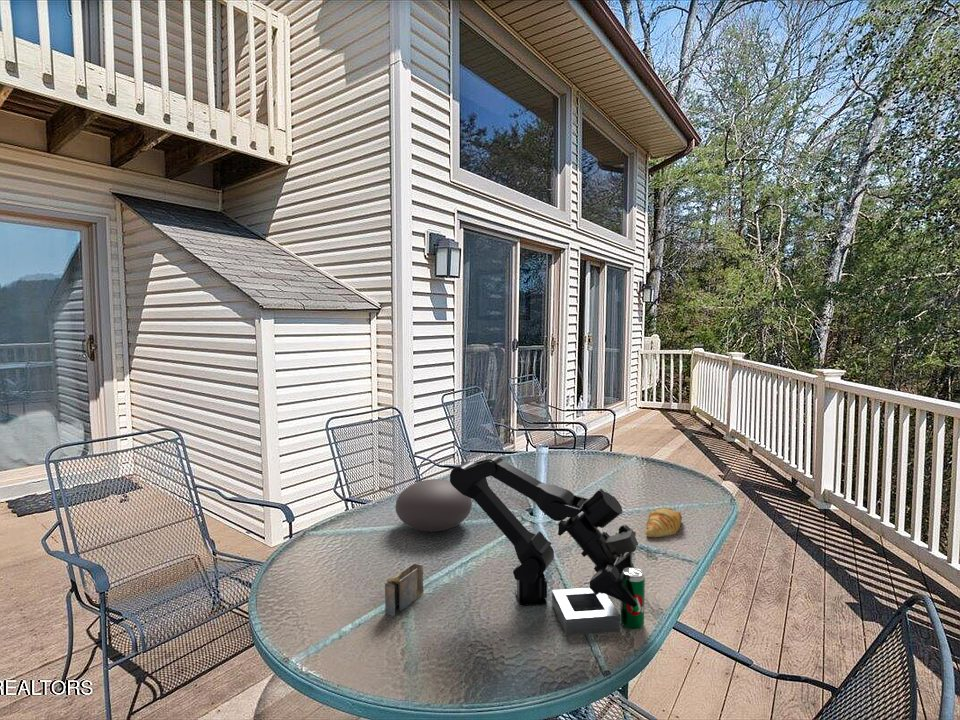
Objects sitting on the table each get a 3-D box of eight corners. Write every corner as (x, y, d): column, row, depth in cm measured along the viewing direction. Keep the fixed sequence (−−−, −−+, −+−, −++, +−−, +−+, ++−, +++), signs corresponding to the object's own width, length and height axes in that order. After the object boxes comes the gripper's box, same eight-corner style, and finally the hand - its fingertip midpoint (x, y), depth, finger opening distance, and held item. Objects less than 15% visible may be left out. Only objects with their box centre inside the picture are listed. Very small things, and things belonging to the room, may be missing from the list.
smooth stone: (487, 525, 170) (487, 480, 169) (430, 550, 152) (429, 500, 151) (437, 507, 187) (436, 466, 186) (380, 527, 169) (379, 483, 167)
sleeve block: (566, 634, 111) (566, 619, 111) (552, 604, 123) (552, 590, 123) (620, 630, 112) (620, 615, 112) (601, 600, 124) (601, 586, 124)
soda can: (625, 615, 118) (626, 564, 117) (647, 623, 115) (648, 570, 114) (616, 625, 114) (617, 572, 113) (638, 634, 111) (639, 579, 110)
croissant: (656, 553, 157) (668, 534, 154) (629, 530, 163) (640, 511, 160) (685, 531, 172) (697, 513, 169) (660, 510, 178) (671, 493, 174)
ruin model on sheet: (396, 618, 118) (395, 577, 117) (385, 615, 120) (384, 574, 119) (424, 595, 128) (424, 557, 127) (414, 592, 129) (414, 554, 129)
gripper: (605, 534, 106) (661, 598, 102) (623, 504, 123) (672, 559, 119) (568, 563, 110) (620, 626, 106) (590, 531, 127) (636, 584, 123)
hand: (639, 596), depth 113 cm, fingers open, 8 cm apart
